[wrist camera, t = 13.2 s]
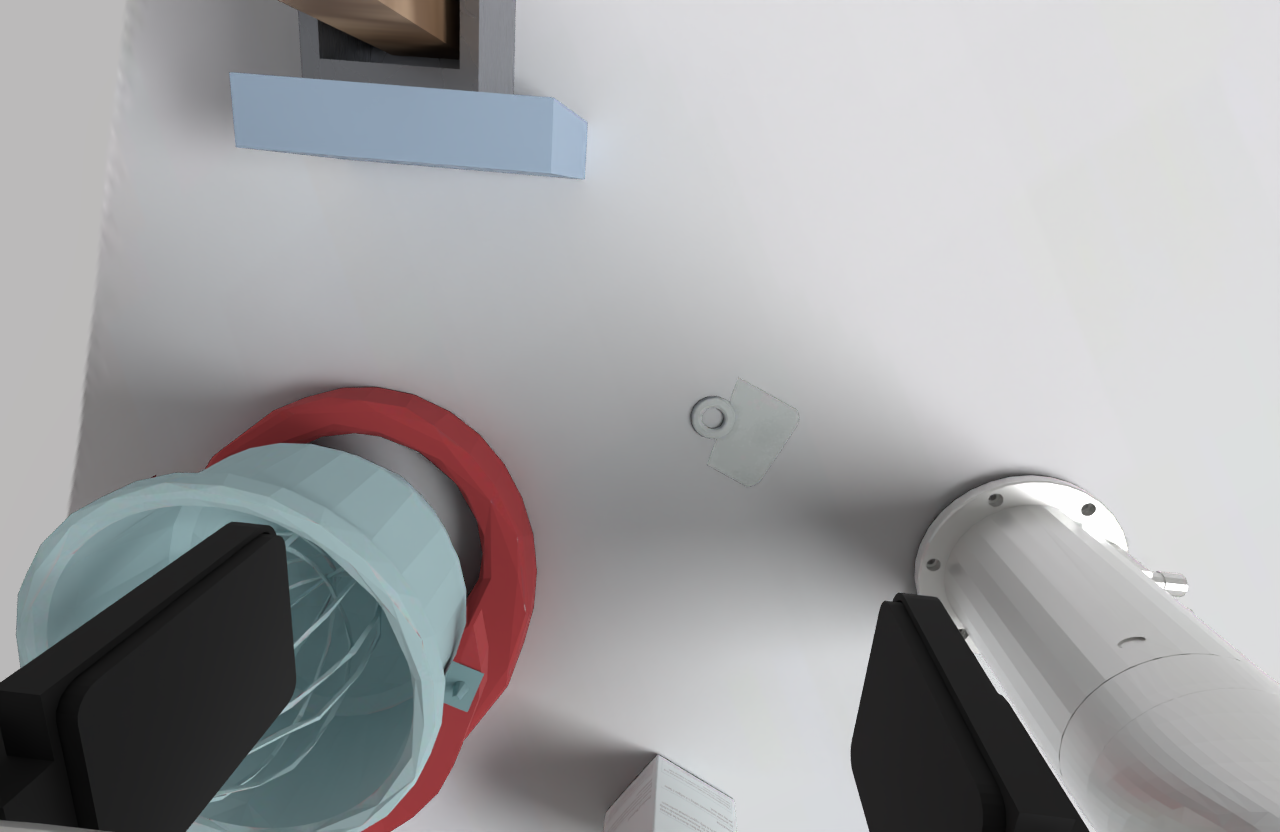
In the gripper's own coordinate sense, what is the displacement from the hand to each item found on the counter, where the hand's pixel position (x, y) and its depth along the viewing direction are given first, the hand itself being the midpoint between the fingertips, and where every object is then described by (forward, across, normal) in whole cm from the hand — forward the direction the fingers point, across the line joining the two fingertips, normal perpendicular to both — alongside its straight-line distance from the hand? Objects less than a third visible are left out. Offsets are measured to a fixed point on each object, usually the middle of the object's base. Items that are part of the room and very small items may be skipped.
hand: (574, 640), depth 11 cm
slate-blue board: (+32, +12, -9) cm, 36 cm away
